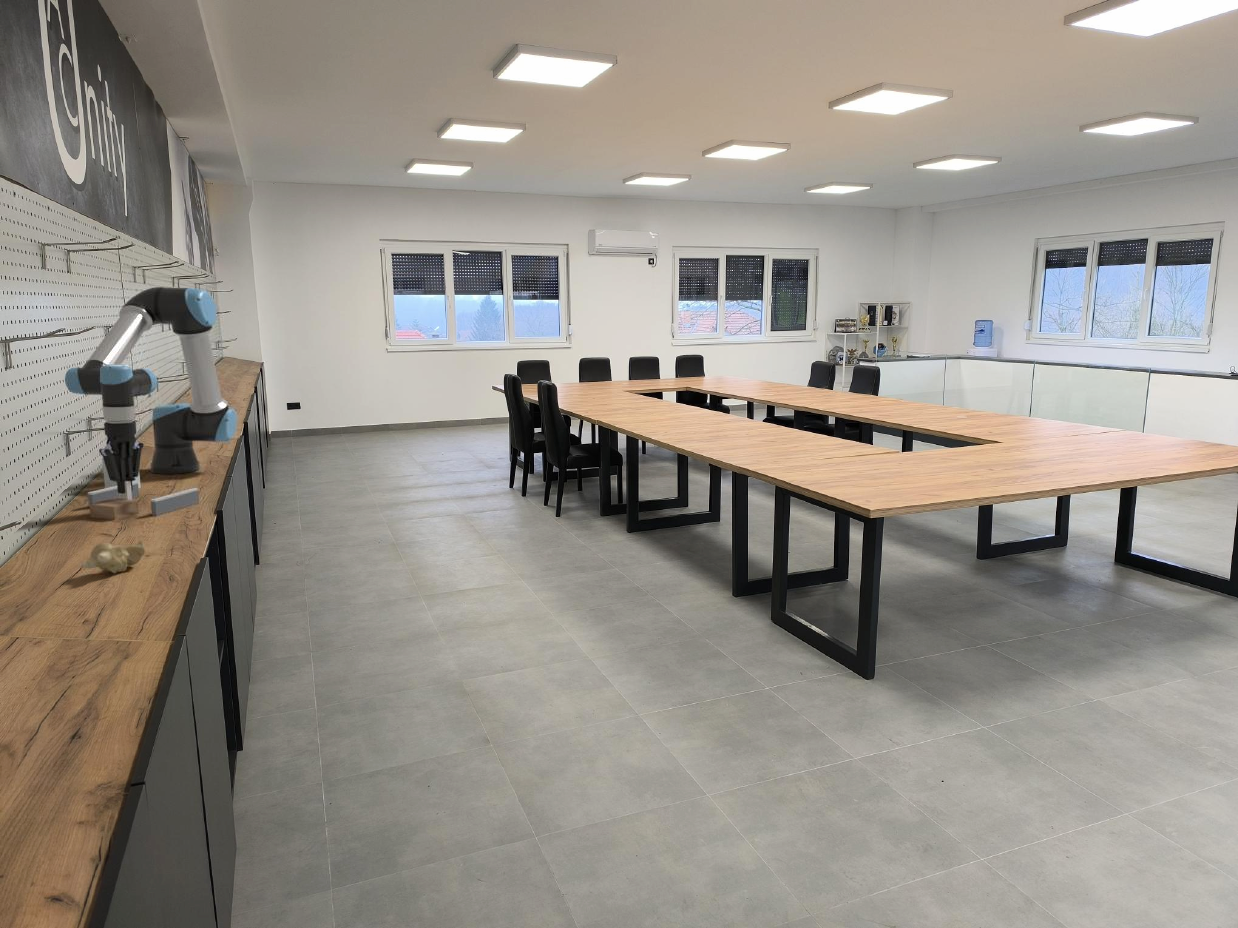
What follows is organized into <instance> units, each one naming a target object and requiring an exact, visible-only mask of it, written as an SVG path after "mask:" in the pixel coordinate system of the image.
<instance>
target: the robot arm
mask: <svg viewBox="0 0 1238 928" xmlns="http://www.w3.org/2000/svg"><path fill="white" fill-rule="evenodd" d="M216 305H217V304H216V303H215V299H214V298H213V297H212V295H211V294H210V293H209V292H208V291H207V290H205V289H200V288H193V287H163V286H155V287H151V288H146V289H145V290H142V291H141V292H139V293H136V294H135V295H134V296H132V297H131V298H130V299H129V300H127V301H126V303H125V304H124V305H122V307H121V308H120V310H119V311H118V312H119V313H118V316H119V318H118V319H117V320H116V321H115V323H114V324H113V326H112V327H111V328H110V330H109V331H108V333H107V334H106V335H105V336H104V338H103V339H102V340H101V342H100V343H99V344H98V346H97V348H96V349H95V350H94V352H93V353H91V356H90V357H89V358H88V359H87V361H86V362H85V363H84V364H83V366H82V367H80V366H77V367H71V368H69V369H68V370H67V371H66V373H65V375H64V383H65V386H66V388H67V390H68V391H69V392H71V393H72V394H76V395H86V396H87V395H89V396H90V395H93V396H95V395H96V396H98V395H99V396H101V401H102V414H103V420H104V421H105V422H104V423H103V428H104V430H103V431H104V435H105V436H106V437H107V439H106V443H105V444H106V445H105V446H104V447H103V448H99V450H98V453H99V454H100V455H101V457H102V458H103V459H104V462H105V466H106V469H107V472H108V475H109V479H110V480H111V481H116V482H117V489H118V493H119V495H120V499H129V500H133V498H132V492H131V491H133V485H132V481H135V479H136V478H135V477H138V474H139V475H140V464H141V455H142V450H143V448H144V445H145V444H144V443H143V442H139V441H137V438H136V437H135V435H136V434H137V423H136V422H135V420H136V407H135V398H136V397H144V396H147V395H149V394H152V393H153V392H154V391H155V390H156V389H157V387H158V382H159V381H158V378H157V376H156V375H155V373H154V372H153V371H152V370H149V369H146V368H136V369H133V368H132V367H131V366H130V365H128V364H123V362H124V361H125V359H126V358H127V356H128V355H129V353H131V351H132V349H133V348H134V347H135V345H136V344H137V342H138V341H139V340H140V339H141V337H142V335H143V334H144V332H148V331H149V330H151V329H152V327H153V326H155V325H161V324H162V325H171V329H172V332H173V333H174V334H175V335H177V336H179V341H180V345H181V349H182V354H183V358H184V363H185V367H186V373H187V377H188V380H189V385H190V389H191V394H192V399H193V402H192V404H190V403H189V402H180V403H171V404H164V405H159V406H156V407H154V408H153V410H152V421H151V422H152V427H153V428H152V429H153V439H154V441H153V442H154V452H153V455H152V460H151V463H150V465H149V466H150V467H149V468H150V472H151V473H153V474H158V475H175V474H186V473H193V472H196V471H199V470H200V468H201V467H200V466H201V465H200V461H199V460H198V458H197V454H196V452H195V450H194V443H193V442H210V443H211V442H212V443H222V442H223V443H227V442H230V441H231V440H232V439H233V437H234V436H235V434H236V432H237V428H238V414H237V411H236V409H233V408H229V405H228V404H229V403H228V401H227V400H226V399H224V398H222V395H221V388H220V384H219V380H218V374H217V370H216V363H215V360H214V354H213V350H212V349H213V348H212V345H211V339H210V335H209V334H210V332H211V331H212V330H213V326H214V325H215V324H216V322H217V319H218V316H217V314H218V310H217V306H216ZM134 397H135V398H134ZM133 472H134V473H133Z"/></svg>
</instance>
